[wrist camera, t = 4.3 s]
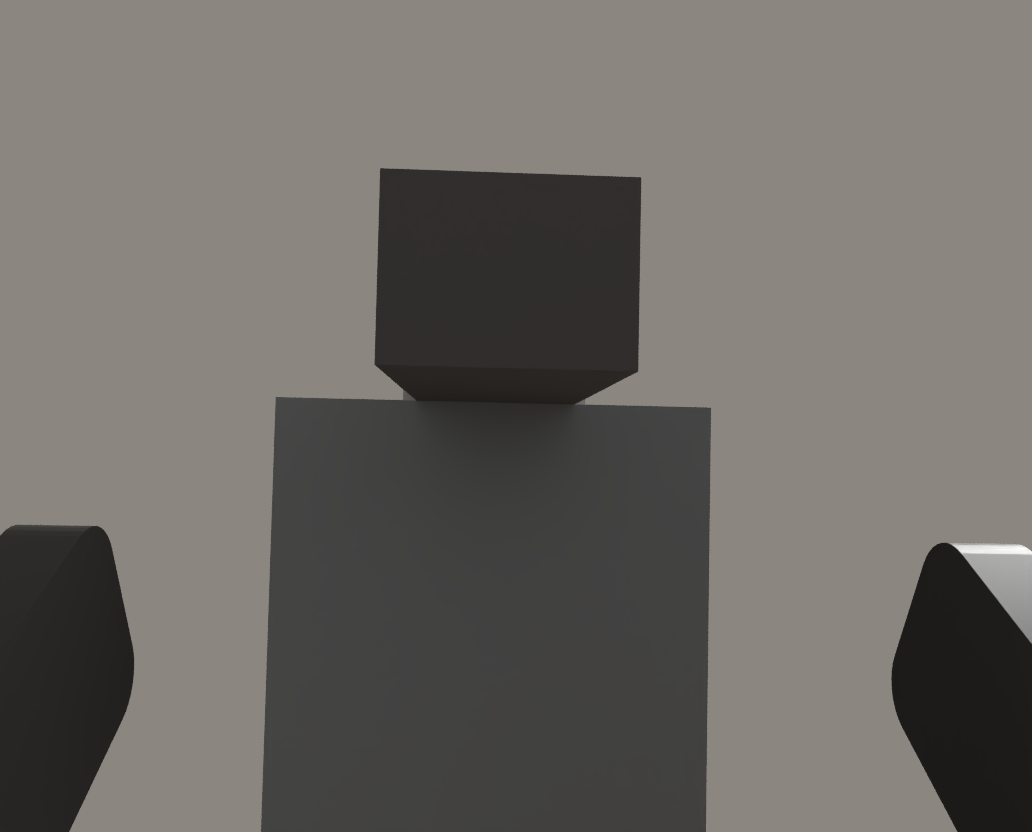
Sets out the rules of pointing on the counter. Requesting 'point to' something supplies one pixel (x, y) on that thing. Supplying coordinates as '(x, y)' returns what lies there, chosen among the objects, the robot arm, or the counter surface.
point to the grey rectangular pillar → (487, 618)
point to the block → (507, 285)
